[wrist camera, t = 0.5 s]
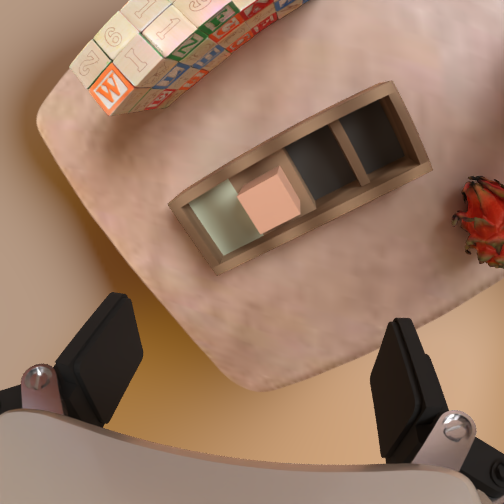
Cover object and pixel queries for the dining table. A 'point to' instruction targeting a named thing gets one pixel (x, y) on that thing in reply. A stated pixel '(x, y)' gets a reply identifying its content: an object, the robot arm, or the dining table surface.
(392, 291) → the dining table surface
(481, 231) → the dragon fruit
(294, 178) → the box
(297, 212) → the terracotta block
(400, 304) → the dining table surface
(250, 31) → the stack of blocks
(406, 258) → the dining table surface
